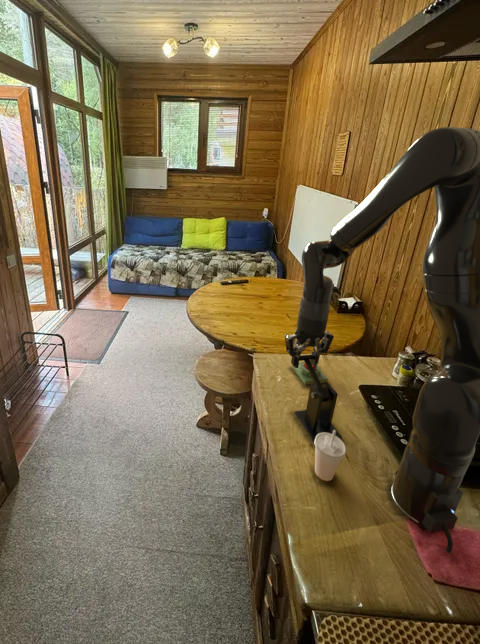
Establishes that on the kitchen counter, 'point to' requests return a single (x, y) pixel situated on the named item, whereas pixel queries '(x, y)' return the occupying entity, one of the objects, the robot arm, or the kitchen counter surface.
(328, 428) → the bracket
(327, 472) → the smoothie
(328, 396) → the lever
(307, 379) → the control block
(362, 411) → the kitchen counter surface
